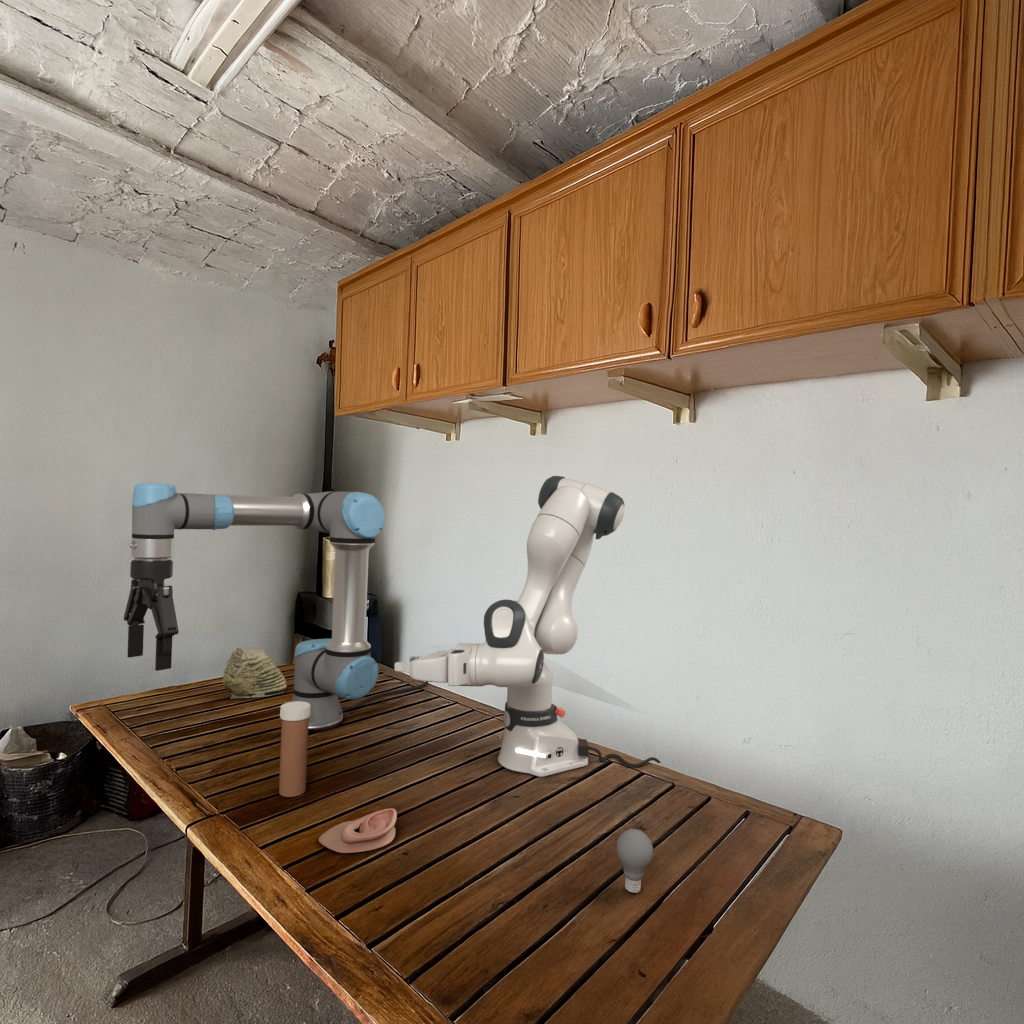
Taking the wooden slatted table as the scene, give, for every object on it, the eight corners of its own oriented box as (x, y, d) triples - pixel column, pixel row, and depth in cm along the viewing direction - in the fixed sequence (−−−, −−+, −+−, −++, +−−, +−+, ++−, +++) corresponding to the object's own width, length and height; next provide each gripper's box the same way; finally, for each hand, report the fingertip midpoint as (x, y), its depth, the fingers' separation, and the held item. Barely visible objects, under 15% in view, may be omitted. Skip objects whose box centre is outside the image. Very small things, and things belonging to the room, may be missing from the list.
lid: (305, 709, 140) (305, 699, 140) (314, 718, 135) (314, 707, 135) (276, 714, 136) (277, 703, 136) (284, 723, 131) (285, 712, 131)
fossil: (218, 695, 195) (220, 647, 195) (278, 685, 208) (279, 640, 207) (228, 703, 189) (230, 653, 188) (289, 692, 201) (290, 645, 201)
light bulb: (610, 879, 108) (613, 822, 108) (644, 879, 109) (647, 822, 109) (619, 902, 102) (622, 840, 102) (655, 901, 103) (658, 840, 103)
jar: (301, 783, 140) (304, 702, 139) (309, 793, 135) (312, 709, 135) (275, 788, 136) (278, 706, 136) (282, 799, 132) (286, 713, 132)
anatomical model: (310, 826, 114) (340, 797, 125) (309, 848, 114) (339, 817, 125) (379, 837, 111) (403, 806, 122) (378, 859, 111) (403, 827, 123)
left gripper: (108, 554, 134) (104, 654, 134) (159, 565, 118) (155, 678, 119) (146, 552, 140) (143, 648, 140) (199, 563, 124) (195, 671, 124)
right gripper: (477, 644, 144) (418, 643, 146) (454, 654, 124) (386, 653, 126) (477, 672, 143) (418, 671, 146) (453, 687, 123) (386, 686, 126)
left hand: (148, 662), depth 129 cm, fingers open, 13 cm apart
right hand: (403, 663), depth 136 cm, fingers open, 8 cm apart
